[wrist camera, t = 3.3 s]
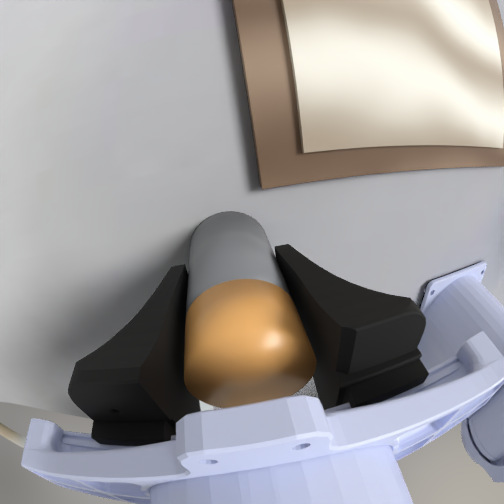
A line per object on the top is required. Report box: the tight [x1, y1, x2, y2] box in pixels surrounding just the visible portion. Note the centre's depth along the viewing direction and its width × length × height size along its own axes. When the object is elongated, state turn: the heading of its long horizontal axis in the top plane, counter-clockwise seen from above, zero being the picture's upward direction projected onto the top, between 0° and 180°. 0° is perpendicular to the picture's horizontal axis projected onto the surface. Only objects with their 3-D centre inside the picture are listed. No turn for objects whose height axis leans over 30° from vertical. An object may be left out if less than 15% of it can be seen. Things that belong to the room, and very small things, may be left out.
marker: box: [184, 211, 316, 408], centre depth 11 cm, size 4×4×8 cm
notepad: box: [232, 0, 504, 189], centre depth 9 cm, size 16×20×1 cm
